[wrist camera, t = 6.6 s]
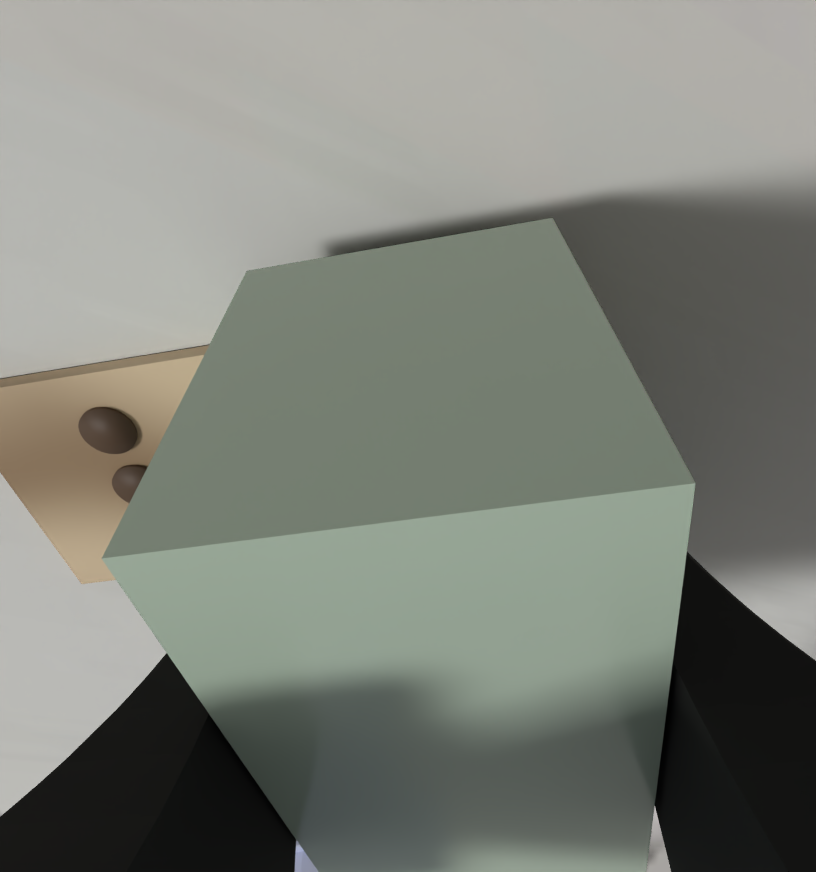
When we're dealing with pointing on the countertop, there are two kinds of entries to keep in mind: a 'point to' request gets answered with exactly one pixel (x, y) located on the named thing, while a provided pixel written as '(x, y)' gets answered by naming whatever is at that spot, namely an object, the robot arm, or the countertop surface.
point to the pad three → (88, 445)
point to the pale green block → (424, 557)
